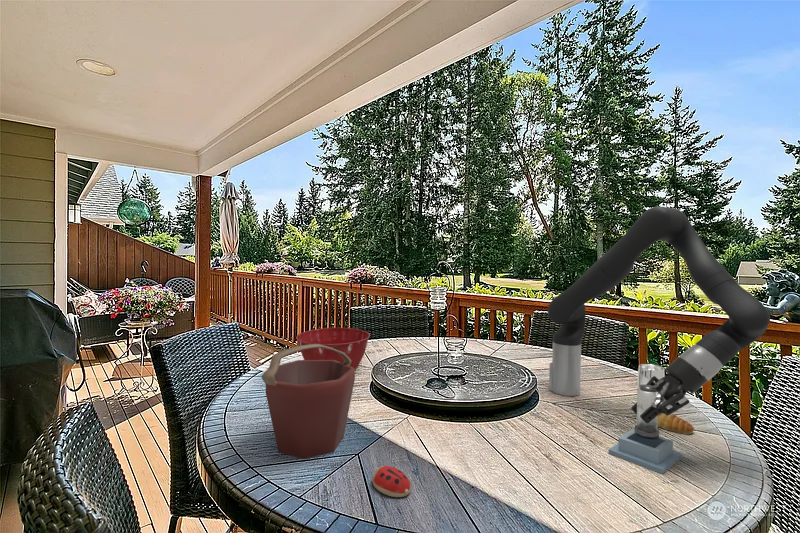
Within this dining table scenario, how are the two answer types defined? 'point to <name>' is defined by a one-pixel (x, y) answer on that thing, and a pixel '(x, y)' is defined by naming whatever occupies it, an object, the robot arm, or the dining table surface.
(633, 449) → the dock
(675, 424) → the pastry
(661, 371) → the beer glass
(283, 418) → the bucket
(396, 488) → the ladybug figurine
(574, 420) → the dining table surface
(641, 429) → the thermos
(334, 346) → the mixing bowl
